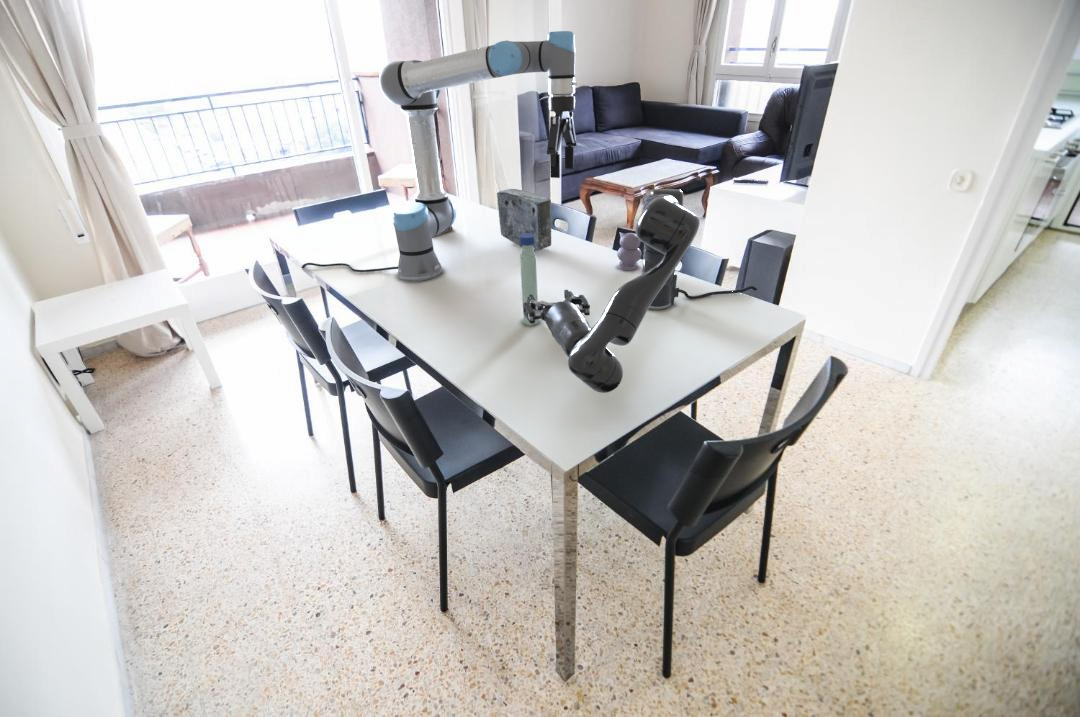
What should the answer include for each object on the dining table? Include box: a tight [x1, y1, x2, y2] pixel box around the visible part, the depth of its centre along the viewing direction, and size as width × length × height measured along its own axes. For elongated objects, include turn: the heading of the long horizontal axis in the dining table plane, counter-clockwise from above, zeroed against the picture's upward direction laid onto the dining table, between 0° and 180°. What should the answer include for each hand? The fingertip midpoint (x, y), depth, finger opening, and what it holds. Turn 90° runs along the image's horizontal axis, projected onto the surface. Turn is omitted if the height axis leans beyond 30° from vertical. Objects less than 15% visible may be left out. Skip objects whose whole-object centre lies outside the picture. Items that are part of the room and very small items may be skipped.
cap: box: [519, 233, 535, 246], centre depth 129 cm, size 4×4×2 cm
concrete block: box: [496, 188, 552, 251], centre depth 192 cm, size 27×9×20 cm, turn 36°
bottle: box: [519, 245, 539, 326], centre depth 135 cm, size 4×4×25 cm
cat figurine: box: [616, 231, 642, 271], centre depth 171 cm, size 9×8×12 cm
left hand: (562, 173), depth 154 cm, fingers open, 13 cm apart
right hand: (548, 295), depth 116 cm, fingers open, 8 cm apart
